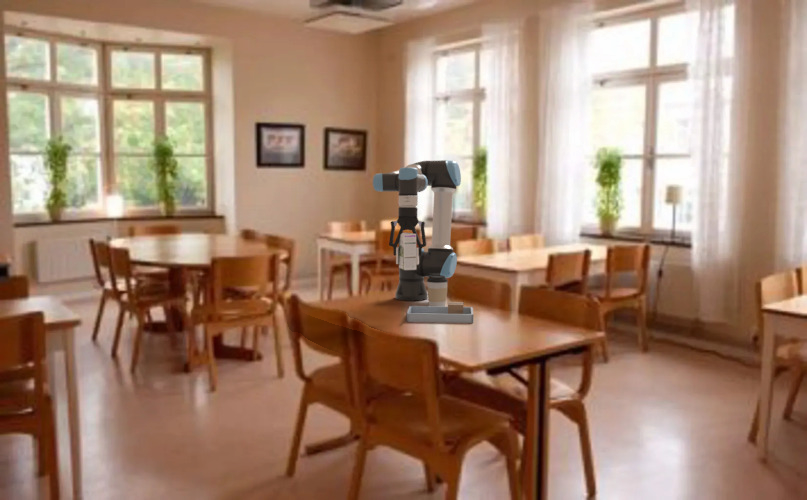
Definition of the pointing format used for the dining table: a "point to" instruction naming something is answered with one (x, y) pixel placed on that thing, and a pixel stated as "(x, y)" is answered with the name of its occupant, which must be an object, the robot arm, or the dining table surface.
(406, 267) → the syrup box
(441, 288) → the coffee cup
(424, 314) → the tray
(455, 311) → the walnut block
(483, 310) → the dining table surface
